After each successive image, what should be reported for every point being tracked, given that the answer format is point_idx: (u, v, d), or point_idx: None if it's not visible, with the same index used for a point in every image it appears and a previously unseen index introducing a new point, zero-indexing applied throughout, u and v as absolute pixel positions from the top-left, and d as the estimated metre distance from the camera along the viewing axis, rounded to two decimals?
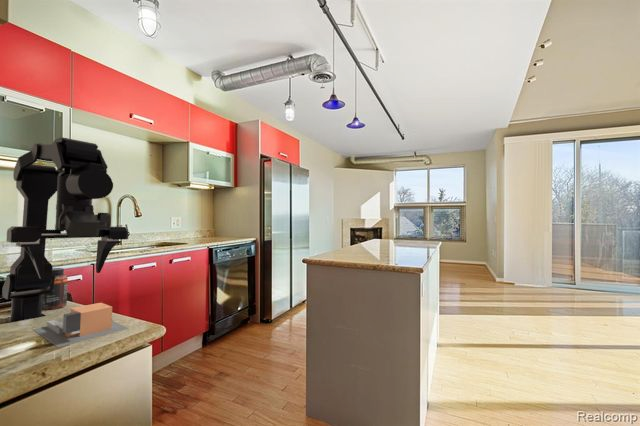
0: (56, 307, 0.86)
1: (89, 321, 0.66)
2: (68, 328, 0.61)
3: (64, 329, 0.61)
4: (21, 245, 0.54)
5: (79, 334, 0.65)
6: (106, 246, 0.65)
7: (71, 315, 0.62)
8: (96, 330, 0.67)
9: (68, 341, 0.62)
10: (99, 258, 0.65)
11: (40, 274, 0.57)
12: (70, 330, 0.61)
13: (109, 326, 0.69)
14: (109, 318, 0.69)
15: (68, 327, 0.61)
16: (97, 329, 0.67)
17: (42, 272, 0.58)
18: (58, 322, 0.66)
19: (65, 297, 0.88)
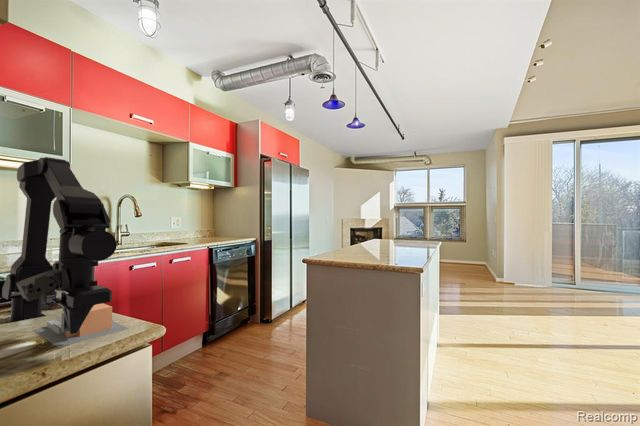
0: (56, 307, 0.86)
1: (89, 321, 0.66)
2: (66, 327, 0.62)
3: (62, 328, 0.62)
4: None
5: (79, 334, 0.65)
6: (63, 307, 0.59)
7: None
8: (96, 330, 0.67)
9: (68, 341, 0.62)
10: None
11: (68, 328, 0.61)
12: (68, 329, 0.62)
13: (109, 326, 0.69)
14: (109, 318, 0.69)
15: (66, 326, 0.62)
16: (97, 329, 0.67)
17: (68, 327, 0.60)
18: (56, 321, 0.66)
19: None
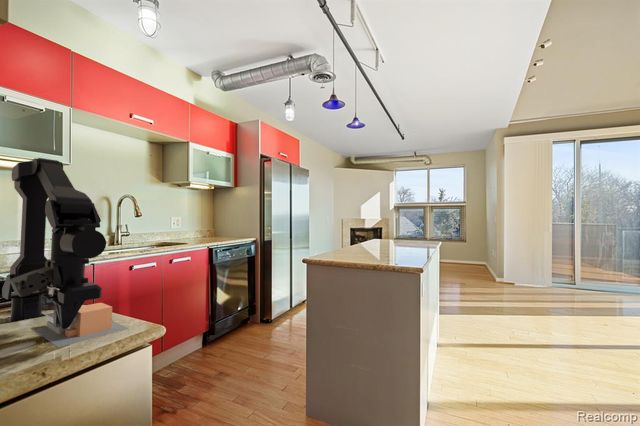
0: None
1: (89, 321, 0.66)
2: (58, 322, 0.64)
3: (54, 323, 0.64)
4: None
5: (79, 334, 0.65)
6: (55, 303, 0.61)
7: None
8: (96, 330, 0.67)
9: (68, 341, 0.62)
10: None
11: (60, 324, 0.63)
12: None
13: (109, 326, 0.69)
14: (109, 318, 0.69)
15: (58, 321, 0.64)
16: (97, 329, 0.67)
17: (60, 322, 0.63)
18: (49, 317, 0.69)
19: None
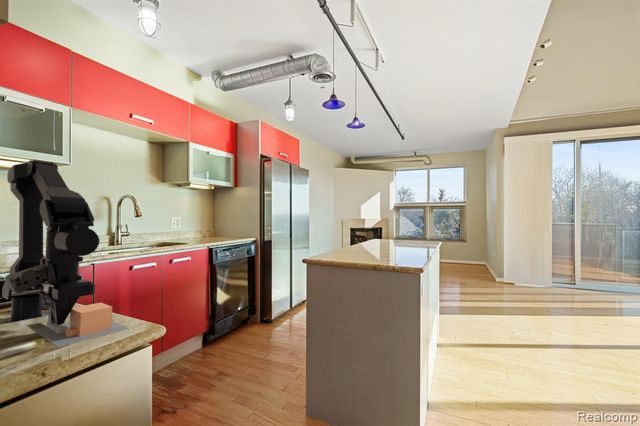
0: None
1: (89, 321, 0.66)
2: (53, 319, 0.66)
3: (49, 320, 0.66)
4: None
5: (79, 334, 0.65)
6: (50, 299, 0.63)
7: None
8: (96, 330, 0.67)
9: (68, 341, 0.62)
10: None
11: (55, 320, 0.65)
12: None
13: (109, 326, 0.69)
14: (109, 318, 0.69)
15: (53, 319, 0.66)
16: (97, 329, 0.67)
17: (55, 318, 0.65)
18: (45, 314, 0.71)
19: None
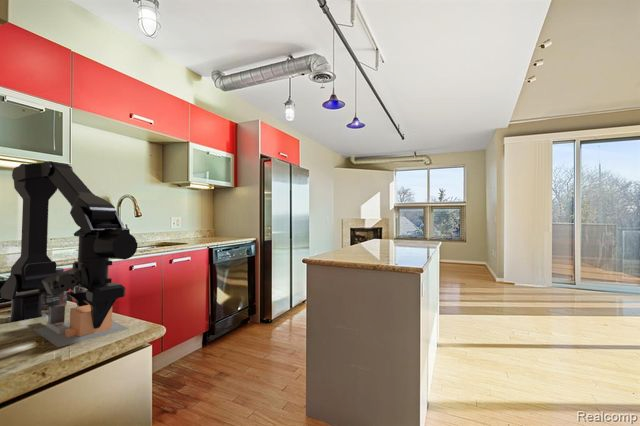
0: None
1: (89, 321, 0.66)
2: (53, 319, 0.66)
3: (49, 320, 0.66)
4: None
5: (79, 334, 0.65)
6: (88, 304, 0.65)
7: (56, 307, 0.66)
8: (96, 330, 0.67)
9: (68, 341, 0.62)
10: None
11: None
12: (55, 321, 0.66)
13: (109, 326, 0.69)
14: (108, 318, 0.69)
15: (53, 319, 0.66)
16: (97, 329, 0.67)
17: None
18: (45, 314, 0.71)
19: (65, 297, 0.88)
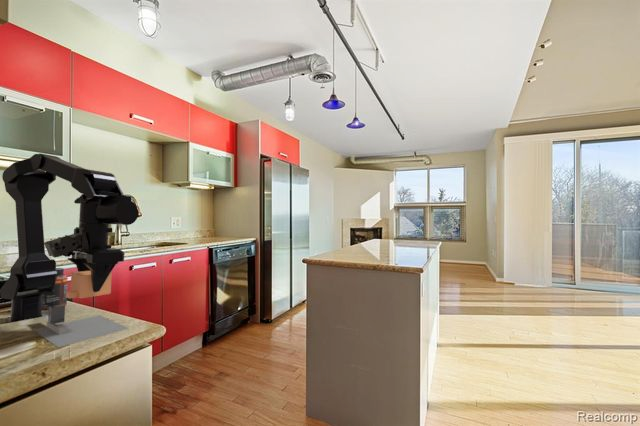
0: None
1: (89, 284, 0.68)
2: (53, 319, 0.66)
3: (49, 320, 0.66)
4: None
5: (79, 296, 0.67)
6: (88, 267, 0.67)
7: (56, 307, 0.66)
8: (96, 294, 0.69)
9: (68, 341, 0.62)
10: None
11: None
12: (55, 321, 0.66)
13: (108, 291, 0.71)
14: (108, 283, 0.71)
15: (53, 319, 0.66)
16: (97, 293, 0.69)
17: None
18: (45, 314, 0.71)
19: (65, 297, 0.88)
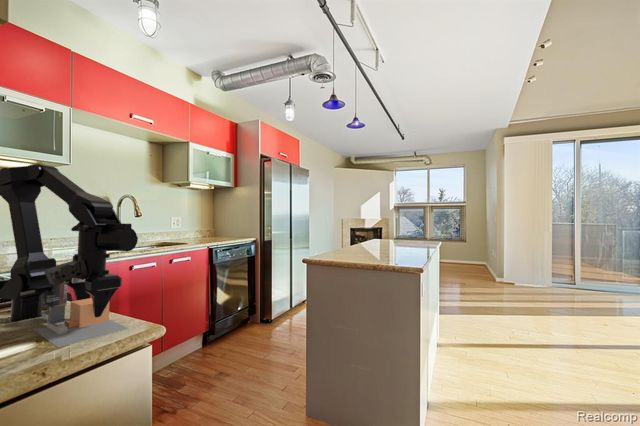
0: None
1: (88, 313, 0.71)
2: (53, 319, 0.66)
3: (49, 320, 0.66)
4: None
5: (79, 325, 0.70)
6: (89, 294, 0.69)
7: (56, 307, 0.66)
8: (94, 322, 0.72)
9: (68, 341, 0.62)
10: None
11: None
12: (55, 321, 0.66)
13: (106, 318, 0.74)
14: (106, 311, 0.74)
15: (53, 319, 0.66)
16: (95, 321, 0.72)
17: None
18: (45, 314, 0.71)
19: (65, 297, 0.88)
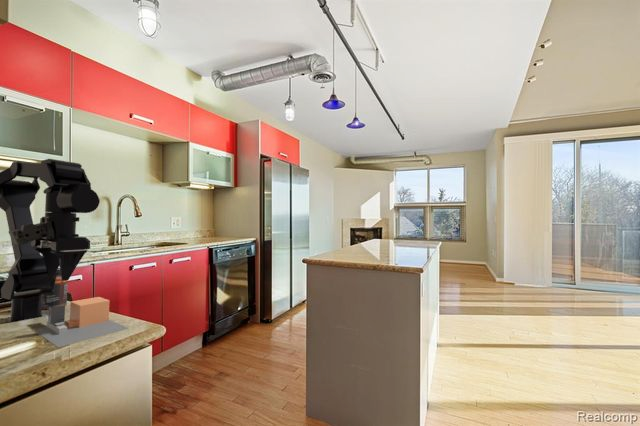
0: None
1: (88, 313, 0.71)
2: (53, 319, 0.66)
3: (49, 320, 0.66)
4: (35, 248, 0.74)
5: (79, 325, 0.70)
6: (55, 256, 0.67)
7: (56, 307, 0.66)
8: (94, 322, 0.72)
9: (68, 341, 0.62)
10: None
11: (47, 272, 0.74)
12: (55, 321, 0.66)
13: (106, 318, 0.74)
14: (106, 311, 0.74)
15: (53, 319, 0.66)
16: (95, 321, 0.72)
17: (47, 271, 0.73)
18: (45, 314, 0.71)
19: (65, 297, 0.88)
